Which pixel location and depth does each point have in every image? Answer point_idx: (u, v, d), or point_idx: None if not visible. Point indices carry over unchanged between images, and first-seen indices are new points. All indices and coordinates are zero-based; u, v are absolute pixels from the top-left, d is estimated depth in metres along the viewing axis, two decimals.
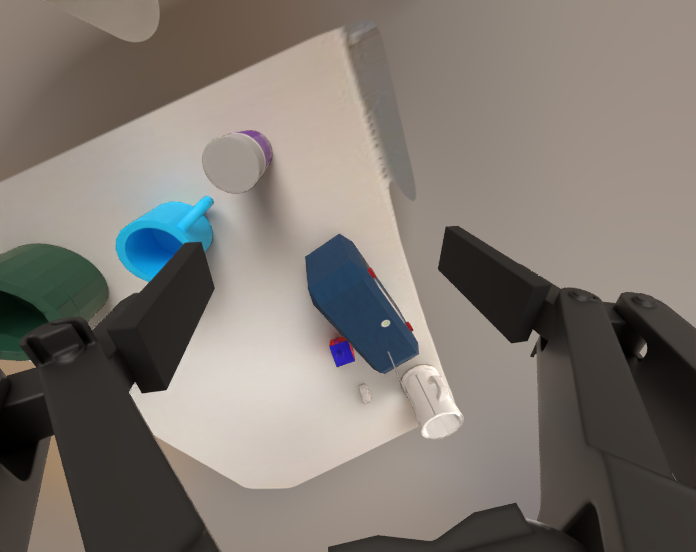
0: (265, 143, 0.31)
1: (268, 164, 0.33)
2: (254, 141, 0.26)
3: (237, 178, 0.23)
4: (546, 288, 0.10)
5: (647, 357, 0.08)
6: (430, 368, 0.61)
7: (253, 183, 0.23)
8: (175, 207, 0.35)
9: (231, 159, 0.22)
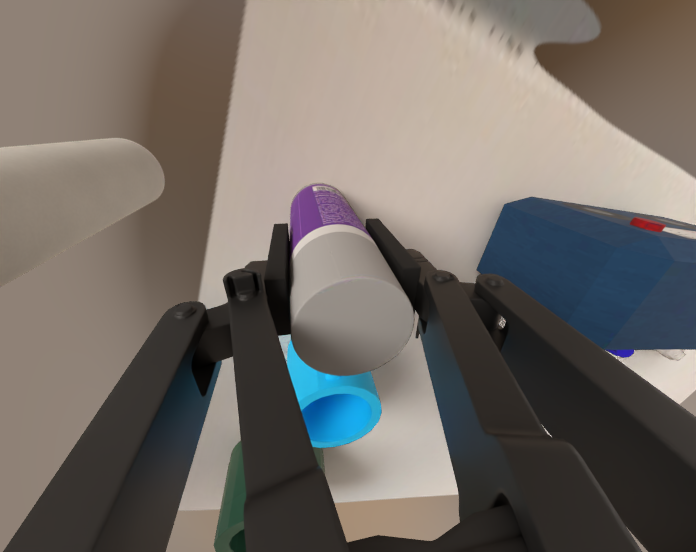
0: (332, 198, 0.17)
1: None
2: (334, 231, 0.12)
3: (378, 337, 0.10)
4: (417, 270, 0.11)
5: (509, 333, 0.09)
6: None
7: (411, 321, 0.10)
8: None
9: (345, 324, 0.09)
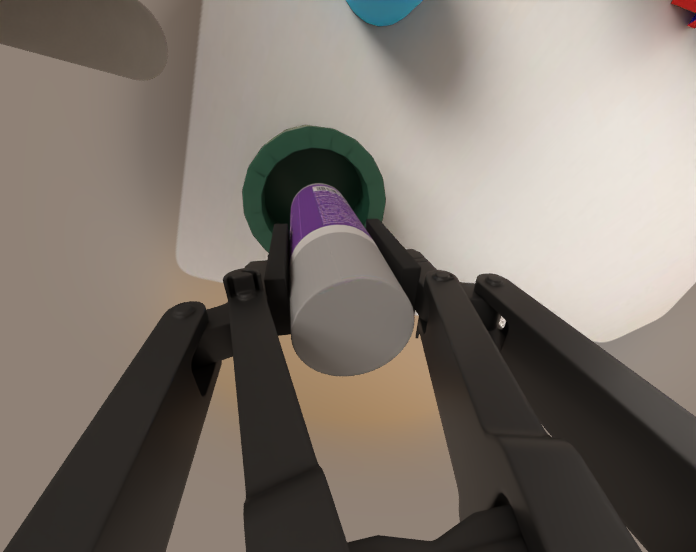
0: (333, 199, 0.17)
1: None
2: (334, 231, 0.12)
3: (379, 337, 0.10)
4: (417, 270, 0.11)
5: (509, 333, 0.09)
6: None
7: (411, 321, 0.10)
8: None
9: (345, 324, 0.09)
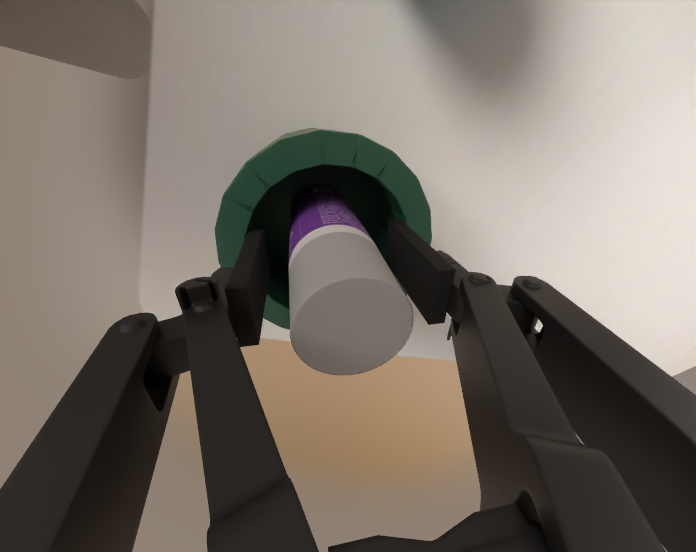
0: (332, 199, 0.17)
1: None
2: (334, 231, 0.12)
3: (378, 337, 0.10)
4: (451, 273, 0.11)
5: (545, 336, 0.09)
6: None
7: (410, 320, 0.10)
8: None
9: (344, 323, 0.09)
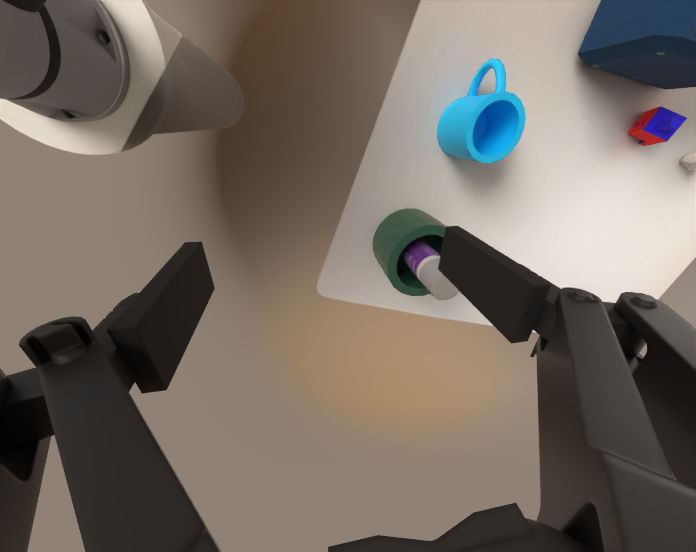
0: (422, 242, 0.44)
1: None
2: (435, 257, 0.39)
3: (453, 288, 0.37)
4: (546, 288, 0.10)
5: (647, 357, 0.08)
6: None
7: None
8: (462, 100, 0.38)
9: (445, 283, 0.36)
